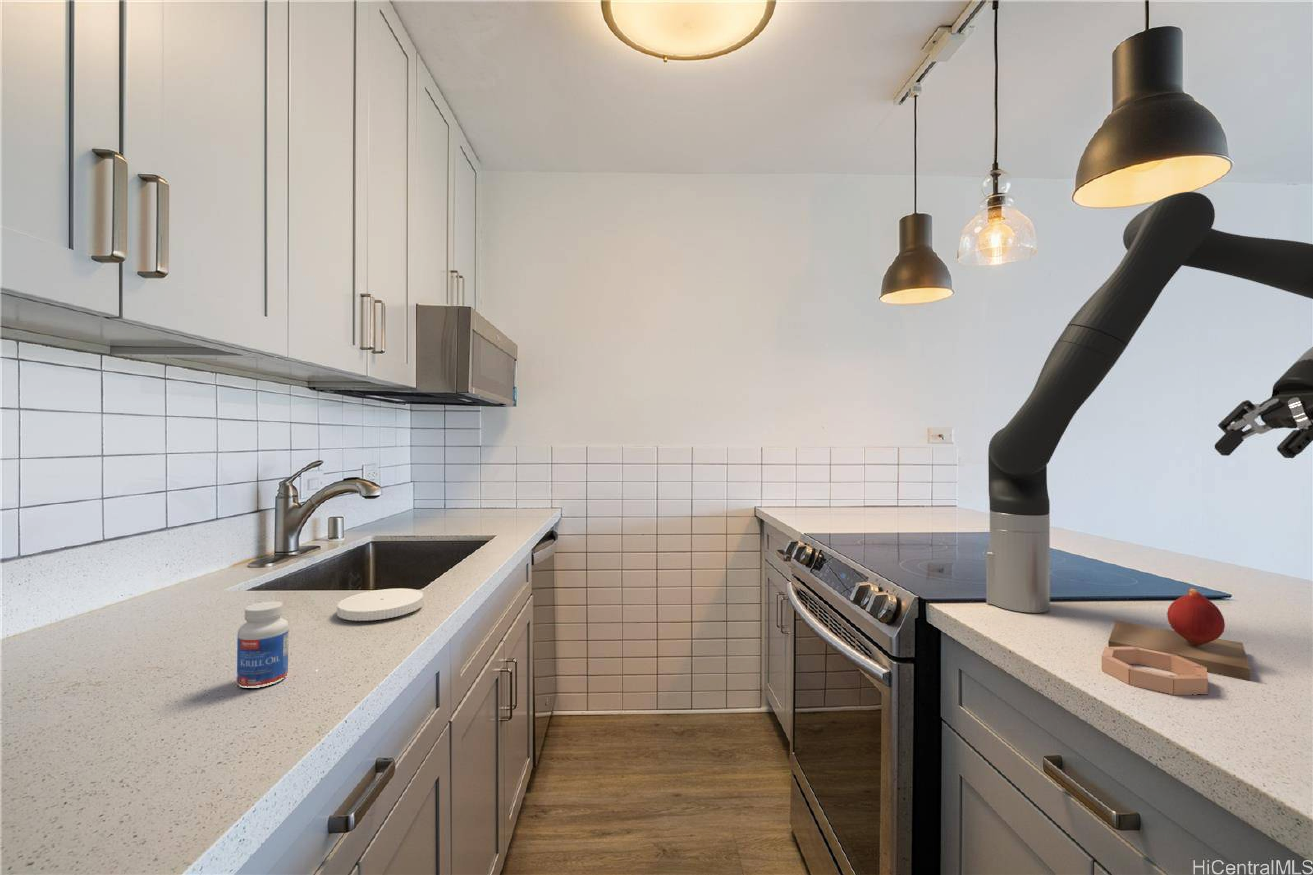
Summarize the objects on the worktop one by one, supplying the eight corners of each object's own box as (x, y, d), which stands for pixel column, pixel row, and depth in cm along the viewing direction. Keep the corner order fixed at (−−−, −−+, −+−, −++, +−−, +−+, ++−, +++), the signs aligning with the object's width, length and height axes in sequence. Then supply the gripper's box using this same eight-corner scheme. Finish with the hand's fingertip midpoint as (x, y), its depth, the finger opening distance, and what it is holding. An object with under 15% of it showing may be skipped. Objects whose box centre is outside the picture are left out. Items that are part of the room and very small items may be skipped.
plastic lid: (416, 622, 94) (415, 608, 94) (324, 629, 91) (324, 614, 91) (429, 599, 108) (429, 586, 108) (351, 604, 104) (351, 591, 104)
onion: (1207, 640, 80) (1208, 585, 80) (1235, 655, 74) (1236, 596, 74) (1158, 636, 82) (1159, 582, 82) (1182, 650, 76) (1182, 592, 76)
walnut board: (1108, 651, 80) (1108, 640, 80) (1115, 629, 89) (1115, 620, 89) (1249, 680, 70) (1249, 668, 70) (1242, 653, 79) (1242, 643, 79)
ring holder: (1099, 677, 71) (1099, 662, 71) (1106, 655, 78) (1107, 641, 78) (1208, 703, 64) (1208, 686, 64) (1205, 676, 72) (1206, 660, 72)
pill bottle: (232, 694, 67) (231, 615, 67) (241, 677, 72) (241, 603, 72) (286, 685, 70) (285, 608, 70) (291, 669, 75) (290, 597, 75)
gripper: (1255, 364, 89) (1185, 435, 89) (1371, 350, 75) (1289, 435, 75) (1287, 396, 89) (1218, 468, 89) (1409, 389, 75) (1327, 474, 75)
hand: (1250, 452), depth 82 cm, fingers open, 8 cm apart
